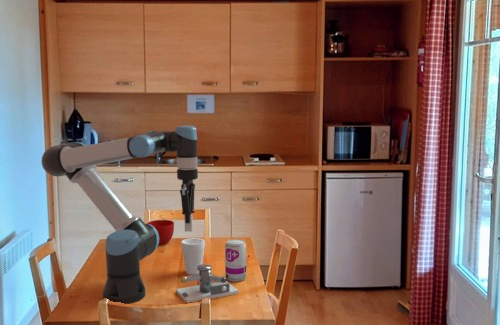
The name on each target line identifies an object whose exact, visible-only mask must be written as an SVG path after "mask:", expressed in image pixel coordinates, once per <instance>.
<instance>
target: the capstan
mask: <svg viewBox="0 0 500 325" xmlns="http://www.w3.org/2000/svg"><path fill="white" fill-rule="evenodd" d="M197 270H199V274H196V275H187V276H185V275H183V276H181V277H180V282H181V283H182V284H186V283H191V282H196V281H198V285H199V286H200V292H203V293H207V292H211V286H212V284H211V283H212V282H221V283H225V282H226V281H227V278H226V277H225V276H222V275H217V274H212V265H210V264H207V263H206V264H205V263H204V264H202V265H199V266H197Z"/></svg>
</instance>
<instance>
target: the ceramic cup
mask: <svg viewBox="0 0 500 325" xmlns="http://www.w3.org/2000/svg"><path fill="white" fill-rule="evenodd" d="M146 224H150V225H152V226H153V227H155V228H156V230H157V232H158V234H159V244H158V246H165V245H167V244H169V243H170V241H171V239H172V237H174V236H173V235H174V232H175V222H174V221H172V220H169V219H156V220H150V221H148V222H147V223H146Z"/></svg>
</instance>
